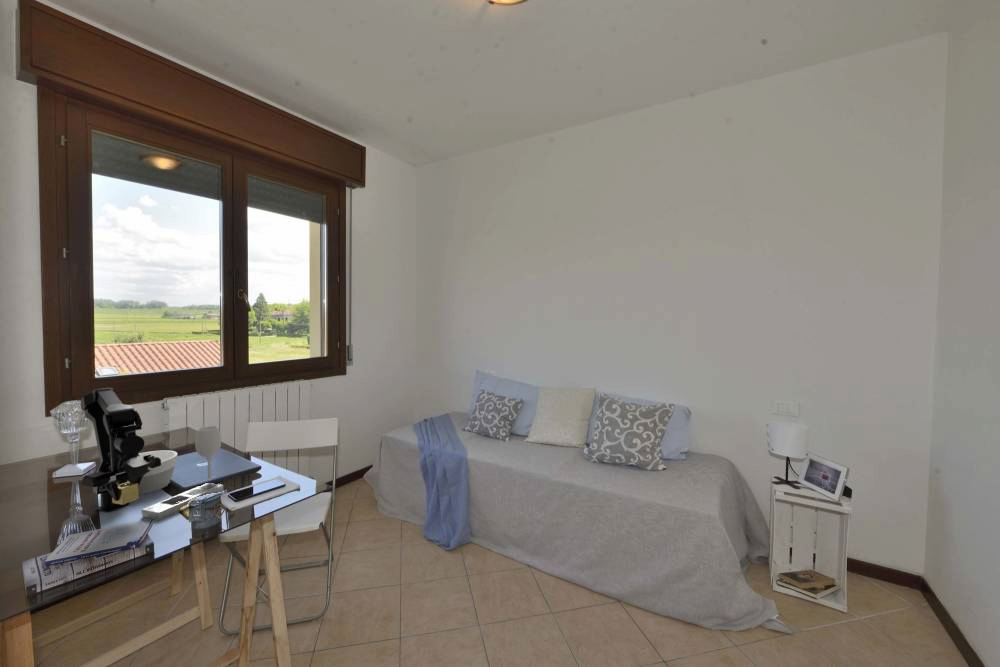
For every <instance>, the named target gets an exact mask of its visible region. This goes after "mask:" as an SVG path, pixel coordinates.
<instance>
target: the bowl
mask: <svg viewBox="0 0 1000 667" xmlns="http://www.w3.org/2000/svg"><path fill="white" fill-rule="evenodd" d="M138 454H139V456H140V457H142V456H146V455H149V454H152V455H154V457H159V458H160V459H161V466H158V467H155V468H150V467H148V470H150V471H149V472H147V473H146V474H145V475H144V476H143V477H142V479H141V482H140V484H139V487H138V495H142V494H143V495H144V494H148V492H149V493H153V492H155V491H159V490H162V489H164V488H165V487H168V486H169V485H170V484H171V482H170V480H171V481H172V478H171V477H173V474H174V470H175V465H176V461H177V458H178V452H177V451H174V450H169V449H168V450H153V451H146V452H145V451H144V452H138ZM169 483H170V484H169ZM168 484H169V485H168ZM152 491H153V492H152Z"/></svg>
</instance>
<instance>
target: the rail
mask: <svg viewBox="0 0 1000 667" xmlns="http://www.w3.org/2000/svg"><path fill="white" fill-rule="evenodd" d="M222 491H224V484H220V483H218V484H214V483H205V484H203V485H201V486H196V487H194V488H191V489H189V490H186V491H183V492H181V493H179V494H176V495H174V496H171V497H169V498H167V499H166V498H165V499H164V500H162V501H159V502H157V503H154V504H152V505H149V506H147V507H145V508H142V509H141V514H142V518H144V519H145V518H146V519H151V520H156V521H161V520H163V519H166V518H167V517H170V516H172V515H174V514H178V513H179V512H180V511H179V509H180V508H181V507H183V506H185V505H187V504H188V502H189V501H190V500H191V499H193V498H196V497H199V496H203V495H206V494H211V493H218V492H222ZM222 493H223V492H222ZM182 500H184V501H183V502H179V503H177V504H175V503H176V502H178V501H182Z"/></svg>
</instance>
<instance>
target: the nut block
mask: <svg viewBox="0 0 1000 667" xmlns="http://www.w3.org/2000/svg"><path fill="white" fill-rule="evenodd" d="M118 493H119V500H118V501H115V500H114V499H113V497H112V501H113V503H116V504H121V505H123V504H126V503H129V502H130V503H131V502H133V501H136V500H138V499H140V497H139V495H140V494H138V483H133V482H125V483H123V484H120V485H118Z"/></svg>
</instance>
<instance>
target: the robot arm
mask: <svg viewBox="0 0 1000 667" xmlns="http://www.w3.org/2000/svg"><path fill="white" fill-rule="evenodd" d="M115 391H116V390H115V388H114V387H103V388H96V389H94V390H92V392H89V393H88V394H86V395H84V396H82V398H81V400H80V410H81V411H82V412H84V413H83V414H84V416H85V418H87V419H88V420H89V421H90V422H92V424H93V429H94V435H95V441H96V446H97V449H98V450H97V452H98V455H99V462H100V463H99V466H98V468H97V470H96V471H95V472H92V473H89V474H86V475H84V476H83V477H82V479H81V485H82V486H85V487H90V488H92V491H93V493H94V494H96V496H97V495H100V496H99V497H100V506H97V507H95V510H96V511H101V512H105V513H110V512H112V511H114V510H117V509H119V508H123V507H125V506H128V505H130V504H131V502H129V503H126V504H123V505H121V504H116V503H113V501H112V497H113V499H114V500H115V501H118V500H119V493H118V485H120V484H123V483H125V482H133V483H138V487H139V484H140V482H141V479H142V477H143V476H144V475H145V474H146V473H147V472H149V471H150V470H148V467H150V468H155V467H158V466H161V459H160V458H159V457H154V455H152V454H149V455H146V456H142V457H140V456H139V453H141V451H142V450H143V449H144V446H145V441H144V438H142V437H141V436H139V435H137V433H136V431H140V430H142V428H143V427H142V426H143V422H142V418H141V416H140V413H139V412H138V411H137V410H136V409H135V408H134V407H133V406H132V405H130V404H125V403H124V404H123V402H122V401H121V400H120V398H119V397H118V395H117V393H116V392H115Z"/></svg>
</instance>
